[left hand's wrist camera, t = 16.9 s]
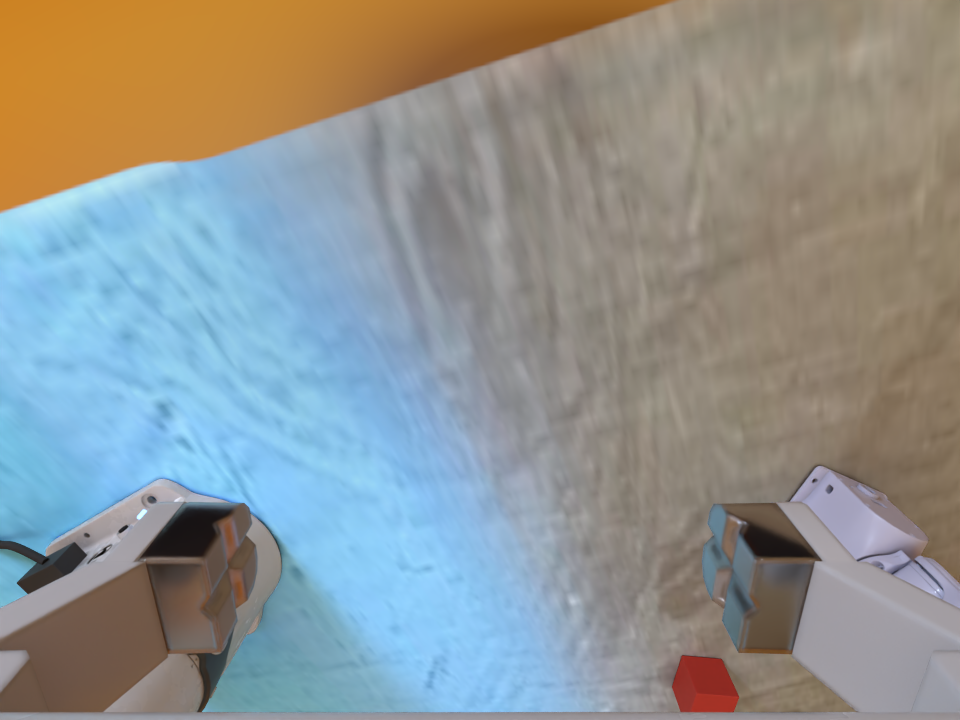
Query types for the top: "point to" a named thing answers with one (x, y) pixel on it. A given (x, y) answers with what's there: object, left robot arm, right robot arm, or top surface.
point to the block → (704, 686)
